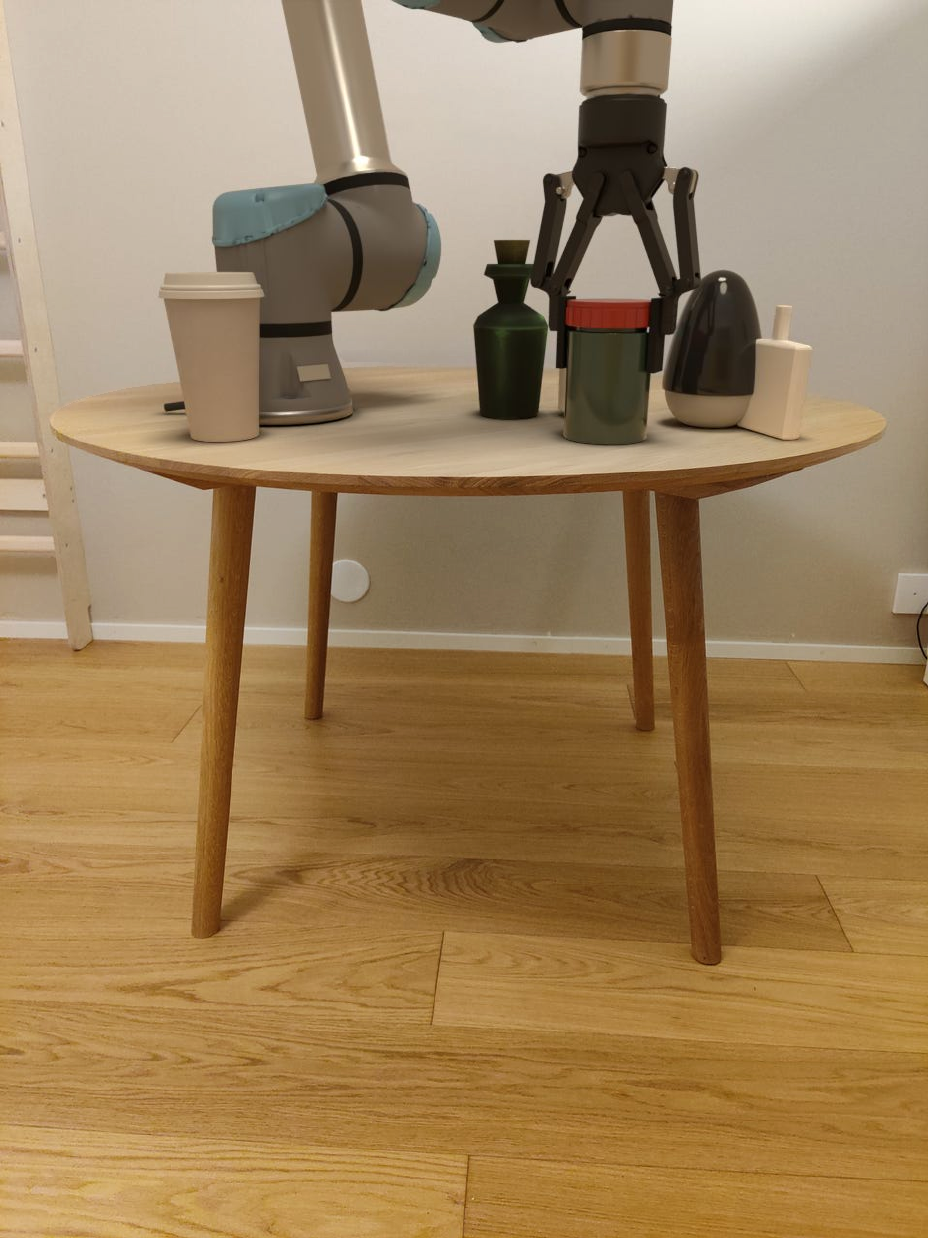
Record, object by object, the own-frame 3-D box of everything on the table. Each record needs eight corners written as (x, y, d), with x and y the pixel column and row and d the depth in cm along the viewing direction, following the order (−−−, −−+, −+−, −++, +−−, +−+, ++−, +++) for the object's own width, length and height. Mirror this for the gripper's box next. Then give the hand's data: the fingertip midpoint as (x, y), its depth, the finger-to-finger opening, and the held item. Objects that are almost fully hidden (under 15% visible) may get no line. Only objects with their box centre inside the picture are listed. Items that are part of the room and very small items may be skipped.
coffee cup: (241, 424, 96) (228, 271, 91) (294, 436, 90) (283, 272, 85) (156, 435, 90) (136, 272, 85) (206, 449, 84) (188, 273, 78)
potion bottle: (458, 413, 103) (457, 240, 97) (514, 406, 108) (517, 240, 101) (502, 423, 97) (505, 239, 91) (560, 415, 102) (567, 239, 95)
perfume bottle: (800, 439, 89) (821, 308, 84) (783, 440, 88) (802, 308, 84) (751, 424, 96) (768, 303, 91) (735, 425, 95) (750, 303, 91)
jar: (550, 440, 88) (555, 310, 84) (580, 427, 95) (586, 306, 91) (630, 447, 85) (640, 313, 81) (656, 434, 91) (666, 308, 87)
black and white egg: (735, 414, 102) (750, 268, 97) (775, 431, 93) (795, 269, 87) (646, 416, 101) (657, 268, 96) (677, 433, 92) (691, 270, 86)
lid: (667, 323, 88) (669, 299, 87) (640, 329, 81) (641, 303, 80) (584, 321, 91) (586, 297, 91) (551, 326, 84) (552, 300, 84)
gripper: (757, 94, 78) (729, 371, 86) (529, 112, 87) (523, 360, 95) (737, 80, 72) (709, 379, 80) (494, 101, 81) (491, 367, 89)
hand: (608, 369), depth 87 cm, fingers closed on lid, 8 cm apart
